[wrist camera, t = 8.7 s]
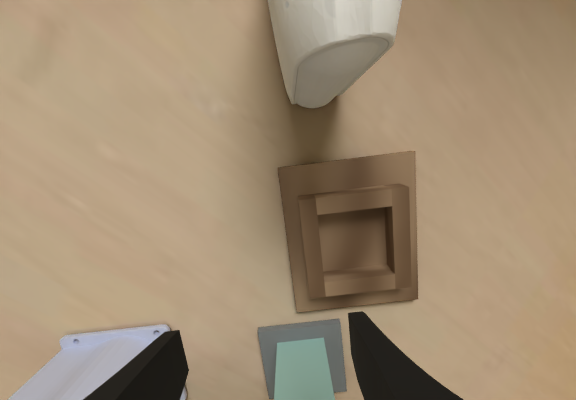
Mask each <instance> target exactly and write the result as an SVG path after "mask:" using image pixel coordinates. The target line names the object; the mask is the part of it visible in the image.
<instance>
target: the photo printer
mask: <svg viewBox="0 0 576 400" xmlns="http://www.w3.org/2000/svg"><path fill="white" fill-rule="evenodd" d="M401 3H402V0H268V5H269V11H270V16H271V22H272V27H273V32H274V38H275V43H276V48H277V52H278V57H279V62H280V67H281V71H282V76H283V80H284V84H285V88H286V91H287V94H288V97H289V99H290V101H291V103H292V104H299V105H300V106H303V107H306V108H319V107H322V106H324V105H326V104H328V103H329V102H330V101H331V100H332V99H333V98H334V97H335V96H337V95H341V94H343V93H344V92H345V91H346V90H347V89H348V88H349V87H350V86H351V85H352V84H353V83H354V82H355V81H356V80H357V79H359V78H360V77H361V76H362V75H363V74H364V73H365V72H366V71H367V70H368V69H369V68H370V67H371V66H372V65H373V64H375V62H377V61H378V60H379V59H380V58H381V57H382V56H383V55H384V54H385V53H386V52H387V51H388V50H389V49H390V48H391V47H392V46H393V44H394V41H395V36H396V31H397V25H398V20H399V13H400V9H401Z"/></svg>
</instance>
